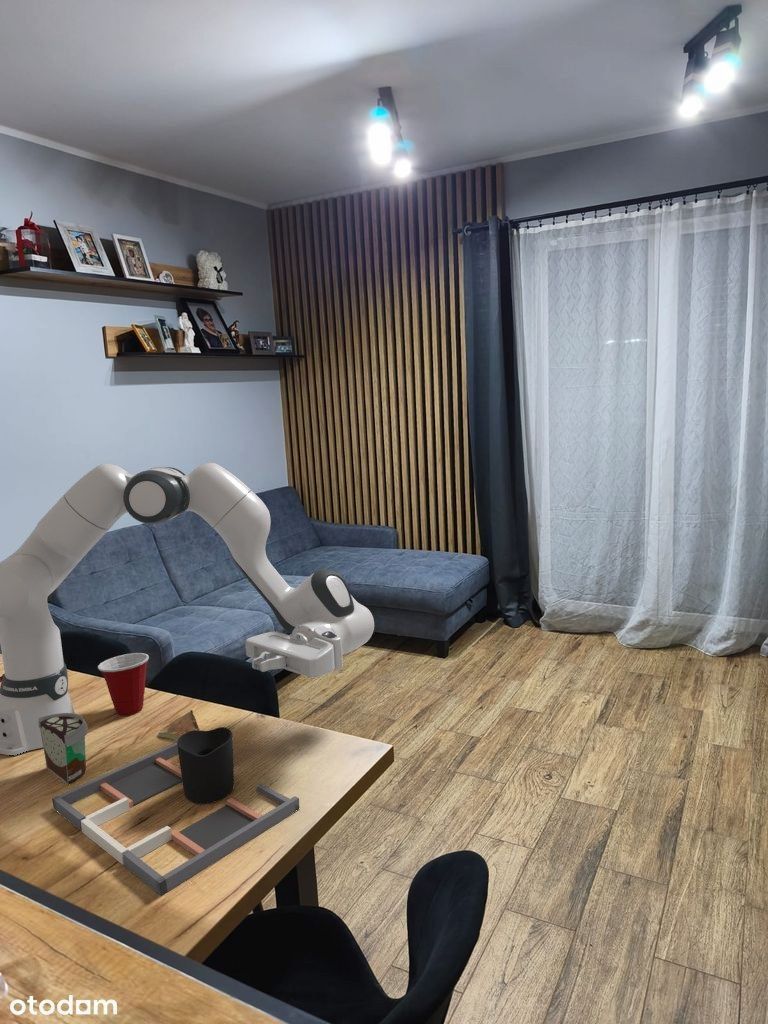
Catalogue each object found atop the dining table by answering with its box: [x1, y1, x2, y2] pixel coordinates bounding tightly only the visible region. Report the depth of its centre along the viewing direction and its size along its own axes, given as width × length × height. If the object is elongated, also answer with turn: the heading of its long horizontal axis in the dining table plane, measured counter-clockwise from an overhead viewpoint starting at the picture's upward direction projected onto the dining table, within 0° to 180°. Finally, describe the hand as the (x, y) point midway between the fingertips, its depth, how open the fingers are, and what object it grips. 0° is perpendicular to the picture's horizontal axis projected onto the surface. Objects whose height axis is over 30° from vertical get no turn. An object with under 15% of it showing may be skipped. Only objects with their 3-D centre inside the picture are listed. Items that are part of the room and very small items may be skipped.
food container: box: [38, 713, 89, 786], centre depth 131 cm, size 12×6×10 cm, turn 48°
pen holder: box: [176, 726, 235, 805], centre depth 122 cm, size 9×9×10 cm
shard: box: [158, 709, 200, 741], centre depth 147 cm, size 11×8×2 cm
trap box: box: [51, 741, 301, 896], centre depth 118 cm, size 26×34×2 cm
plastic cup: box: [97, 652, 150, 717], centre depth 156 cm, size 11×11×12 cm
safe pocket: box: [81, 797, 173, 866], centre depth 111 cm, size 8×14×2 cm, turn 49°
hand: (256, 666), depth 129 cm, fingers closed
